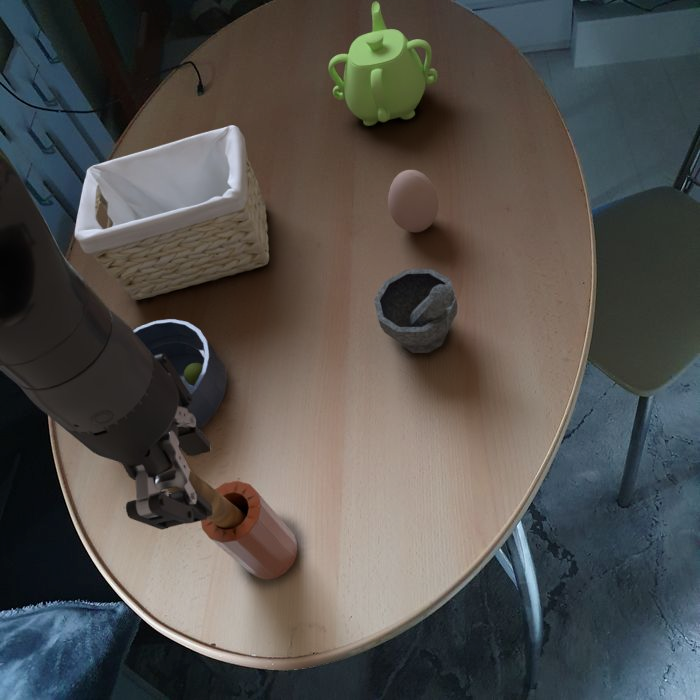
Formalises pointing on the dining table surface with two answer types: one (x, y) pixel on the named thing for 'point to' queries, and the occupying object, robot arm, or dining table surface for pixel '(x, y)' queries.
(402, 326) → the mortar and pestle
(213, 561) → the dining table surface
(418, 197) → the egg
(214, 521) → the stick
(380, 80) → the teapot
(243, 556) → the crock
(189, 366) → the olive
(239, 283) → the dining table surface
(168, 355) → the bowl
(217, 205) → the basket
